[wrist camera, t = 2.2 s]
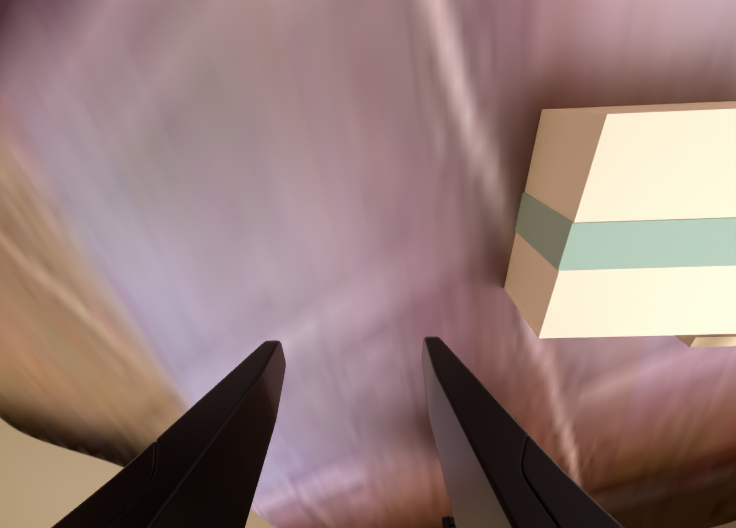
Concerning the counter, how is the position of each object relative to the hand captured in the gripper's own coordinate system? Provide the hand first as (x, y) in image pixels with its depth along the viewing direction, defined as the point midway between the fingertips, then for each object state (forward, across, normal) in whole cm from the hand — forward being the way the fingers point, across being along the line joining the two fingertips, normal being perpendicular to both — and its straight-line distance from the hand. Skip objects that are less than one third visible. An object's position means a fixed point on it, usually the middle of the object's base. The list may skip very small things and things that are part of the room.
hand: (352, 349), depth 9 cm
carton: (+11, -15, 0) cm, 19 cm away
